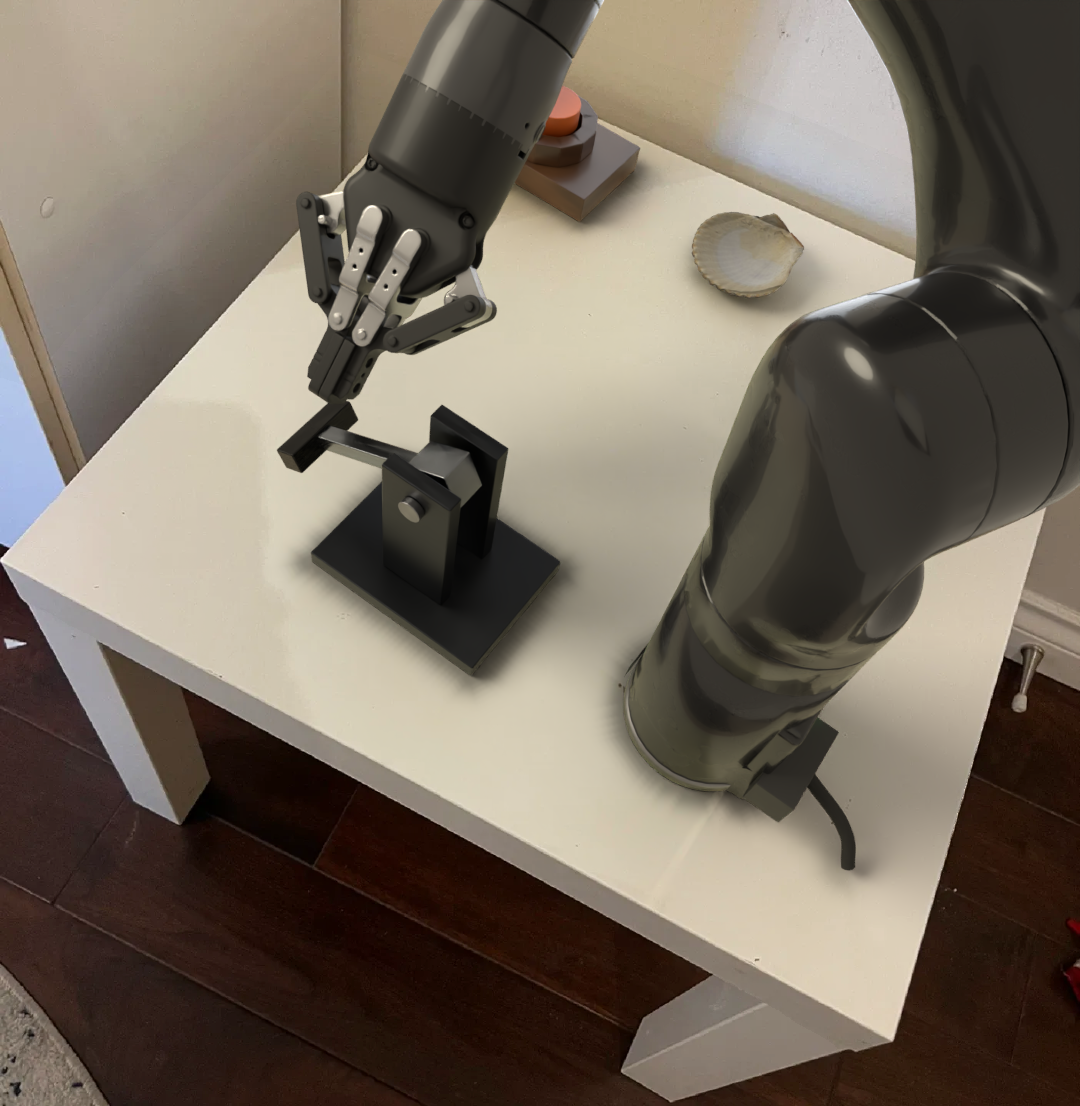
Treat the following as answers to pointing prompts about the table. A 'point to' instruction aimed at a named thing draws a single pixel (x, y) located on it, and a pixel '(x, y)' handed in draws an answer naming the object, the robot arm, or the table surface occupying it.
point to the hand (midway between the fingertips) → (326, 397)
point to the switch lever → (376, 451)
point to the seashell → (745, 253)
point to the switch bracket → (440, 551)
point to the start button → (564, 114)
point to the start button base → (578, 166)
